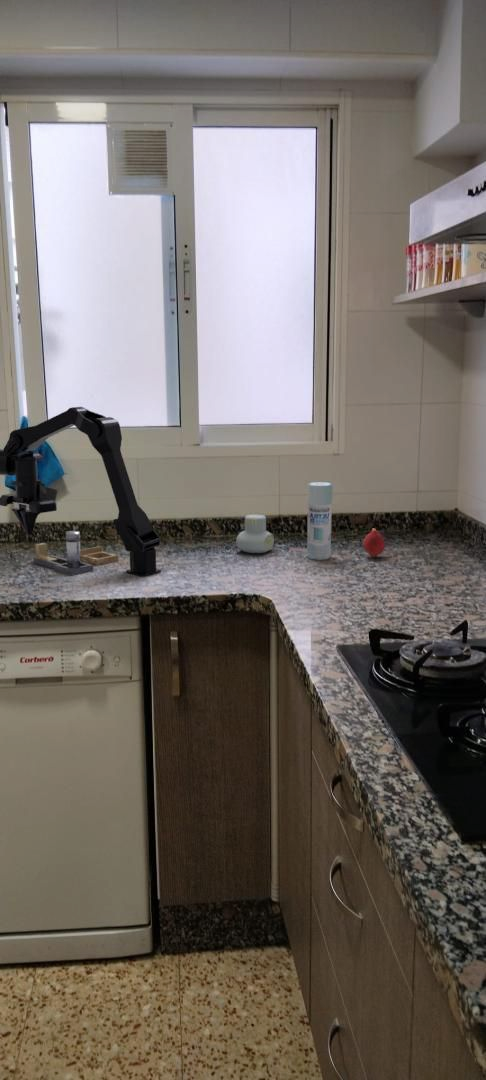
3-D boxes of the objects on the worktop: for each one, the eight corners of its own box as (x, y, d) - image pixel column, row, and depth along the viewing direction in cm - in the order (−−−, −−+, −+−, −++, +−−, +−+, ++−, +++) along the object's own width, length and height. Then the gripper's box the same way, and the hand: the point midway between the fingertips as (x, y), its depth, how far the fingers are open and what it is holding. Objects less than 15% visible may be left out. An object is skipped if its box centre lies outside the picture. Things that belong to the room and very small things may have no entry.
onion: (384, 555, 239) (385, 526, 238) (385, 560, 234) (386, 530, 232) (362, 554, 240) (363, 526, 238) (363, 559, 234) (364, 530, 233)
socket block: (93, 570, 222) (93, 564, 222) (71, 575, 217) (70, 569, 217) (52, 559, 234) (52, 553, 234) (30, 563, 229) (30, 558, 229)
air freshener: (260, 557, 237) (260, 521, 235) (233, 554, 241) (233, 518, 239) (276, 549, 247) (277, 514, 245) (250, 546, 250) (250, 511, 248)
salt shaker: (84, 570, 222) (82, 532, 220) (72, 573, 220) (71, 534, 217) (75, 568, 224) (74, 530, 222) (64, 570, 222) (62, 532, 220)
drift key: (58, 563, 229) (57, 546, 228) (50, 564, 227) (49, 548, 226) (43, 559, 233) (43, 542, 232) (36, 560, 231) (35, 544, 230)
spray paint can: (330, 554, 240) (332, 482, 236) (330, 560, 234) (332, 485, 230) (307, 554, 241) (308, 481, 237) (306, 559, 234) (307, 485, 230)
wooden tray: (118, 560, 233) (118, 550, 232) (97, 565, 228) (96, 554, 227) (100, 556, 238) (99, 546, 237) (78, 560, 233) (78, 550, 232)
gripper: (72, 477, 230) (75, 535, 233) (32, 470, 243) (35, 525, 246) (36, 481, 222) (39, 541, 226) (-4, 474, 235) (0, 531, 238)
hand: (29, 534), depth 234 cm, fingers closed
